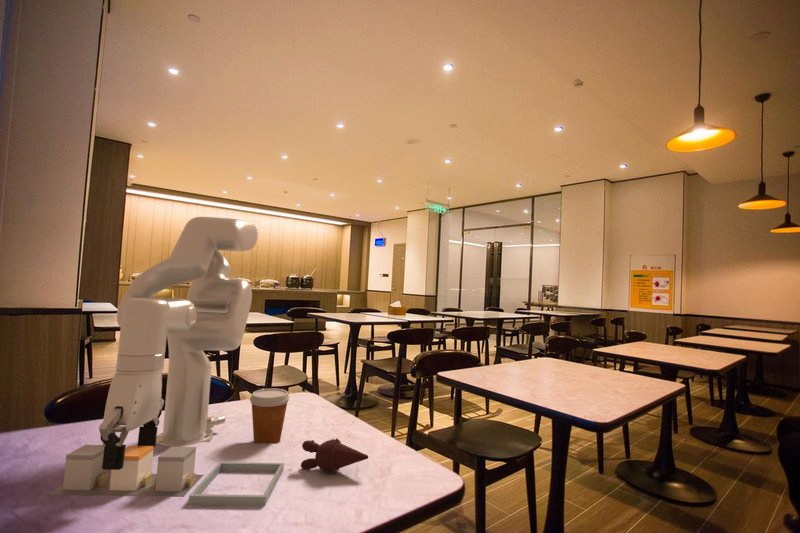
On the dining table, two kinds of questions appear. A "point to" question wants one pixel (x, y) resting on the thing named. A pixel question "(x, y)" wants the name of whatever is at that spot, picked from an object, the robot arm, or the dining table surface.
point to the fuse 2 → (175, 468)
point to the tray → (251, 500)
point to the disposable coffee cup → (268, 414)
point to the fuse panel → (144, 490)
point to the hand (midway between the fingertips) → (130, 457)
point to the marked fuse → (132, 468)
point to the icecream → (330, 455)
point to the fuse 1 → (83, 467)
